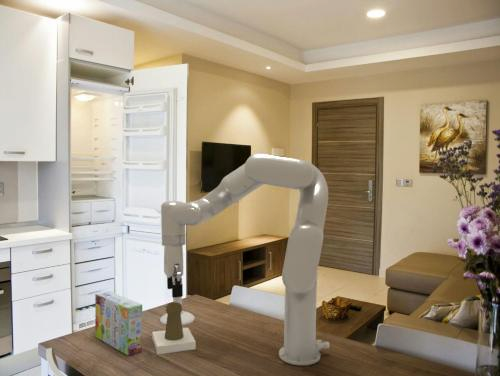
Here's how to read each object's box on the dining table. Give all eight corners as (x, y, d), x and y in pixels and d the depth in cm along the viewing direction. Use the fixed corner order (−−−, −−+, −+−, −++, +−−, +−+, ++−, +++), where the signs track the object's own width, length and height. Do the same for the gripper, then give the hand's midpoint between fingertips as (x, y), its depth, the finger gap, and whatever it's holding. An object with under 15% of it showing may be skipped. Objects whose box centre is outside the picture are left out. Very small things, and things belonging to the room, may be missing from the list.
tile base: (188, 334, 145) (188, 327, 145) (195, 349, 133) (195, 341, 133) (152, 339, 141) (152, 331, 141) (157, 354, 129) (157, 346, 129)
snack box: (143, 351, 132) (143, 303, 131) (127, 357, 128) (127, 308, 127) (109, 332, 146) (109, 289, 145) (94, 337, 142) (93, 293, 141)
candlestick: (199, 315, 163) (199, 238, 162) (187, 327, 151) (187, 244, 149) (168, 312, 166) (168, 237, 165) (154, 324, 154) (153, 242, 152)
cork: (179, 341, 133) (179, 307, 133) (161, 339, 134) (161, 305, 134) (186, 333, 139) (186, 301, 139) (168, 332, 140) (168, 299, 140)
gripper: (158, 236, 142) (159, 286, 143) (166, 245, 126) (167, 302, 127) (180, 235, 145) (181, 284, 145) (190, 243, 128) (191, 299, 129)
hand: (174, 292), depth 136 cm, fingers open, 9 cm apart
